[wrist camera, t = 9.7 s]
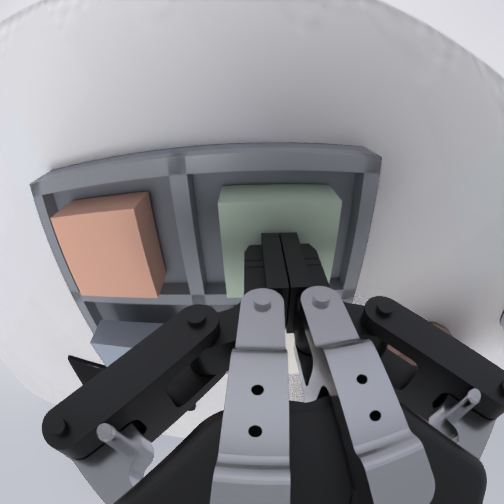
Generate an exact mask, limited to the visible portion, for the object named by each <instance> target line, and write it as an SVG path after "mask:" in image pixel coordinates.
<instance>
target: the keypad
mask: <svg viewBox="0 0 504 504" xmlns="http://www.w3.org/2000/svg"><path fill="white" fill-rule="evenodd" d="M381 160H382V157H380V156H378V155H377V154H375V153H373V152H372V151H370V150H368V149H367V148H365V147H361V146H349V145H335V144H317V143H235V144H216V145H202V146H190V147H180V148H171V149H162V150H154V151H147V152H140V153H133V154H127V155H121V156H115V157H110V158H105V159H100V160H95V161H90V162H85V163H81V164H76V165H72V166H68V167H64V168H60V169H56V170H52V171H50V172H48V173H46V174H45V175H43V176H42V177H40V178H38V179H37V180H35V181H34V182H32V183H31V184H30V187H31V191H32V195H33V198H34V201H35V205H36V208H37V211H38V214H39V217H40V220H41V223H42V226H43V229H44V232H45V234H46V237H47V240H48V242H49V245H50V247H51V250H52V252H53V255H54V257H55V260H56V262H57V264H58V267H59V269H60V271H61V273H62V275H63V278H64V280H65V282H66V284H67V286H68V288H69V290H70V292H71V294H72V296H73V298H74V300H75V302H76V304H77V306H78V308H79V310H80V311H81V313H82V315H83V317H84V319H85V320H86V322H87V324H88V326H89V327H90V329H91V331H92V332H93V334H94V333H95V331H96V329H97V326H98V324H99V322H100V320H113V321H127V322H144V323H165V322H167V321H168V320H169V319H171V318H172V317H173V316H175V315H176V314H177V313H178V312H180V311H181V310H182V309H184V308H186V307H188V306H191V305H195V304H203V305H208V306H210V307H212V308H214V309H215V310H216V311H217V312H221V311H224V310H228V309H231V308H232V307H234V306H236V305H237V304H238V303H239V302H240V301H241V300H242V298H227V292H226V283H225V274H224V264H223V254H222V244H221V234H220V223H219V212H218V200H219V196H220V192H221V188H222V186H232V185H268V184H318V185H330V186H331V187H332V189H333V190H334V191H335V193H336V194H337V195H338V197H339V198H340V199H341V201H342V207H341V214H340V222H339V229H338V235H337V242H336V248H335V254H334V260H333V266H332V271H331V277H330V282H329V286H330V288H331V289H333V290H334V291H336V292H337V293H338V294H339V295H340V297H341V299H342V301H344V302H347V303H351V304H352V301H353V298H354V294H355V290H356V287H357V283H358V279H359V275H360V271H361V268H362V263H363V259H364V255H365V251H366V246H367V242H368V237H369V232H370V227H371V222H372V217H373V212H374V206H375V201H376V195H377V188H378V182H379V175H380V168H381ZM147 191H148V192H149V197H150V203H151V208H152V213H153V218H154V223H155V227H156V232H157V236H158V241H159V245H160V250H161V254H162V258H163V262H164V266H165V270H166V277H165V280H164V283H163V285H162V288H161V291H160V294H159V297H158V298H131V297H104V296H84V295H81V293H80V291H79V288H78V286H77V284H76V282H75V280H74V278H73V275H72V273H71V271H70V269H69V266H68V264H67V261H66V259H65V257H64V254H63V252H62V249H61V247H60V244H59V241H58V239H57V236H56V233H55V230H54V227H53V224H52V222H51V219H50V218H51V217H52V216H53V215H55V214H56V213H57V212H58V211H59V210H60V209H61V208H63V207H64V206H65V205H66V204H67V203H69V202H70V201H76V200H82V199H89V198H96V197H103V196H111V195H119V194H128V193H137V192H147ZM226 373H229V371H226Z"/></svg>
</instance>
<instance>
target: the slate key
mask: <svg viewBox="0 0 504 504" xmlns="http://www.w3.org/2000/svg"><path fill="white" fill-rule="evenodd" d="M163 324H164V323H144V322H127V321H113V320H100V322H99V324H98V326H97V329H96V331H95V333H94V335H93V337H92V340H91V342H90V343H91V345H92V346H93V348H94V349H95V351H96V352H97V354H98V355H99V357H100V358H101V360H102V361H103V363H104V364H105V365H106V367H108V366H109V365H110V364H112V363H113V362H114V361H116V360H117V359H118V358H120V357H121V356H122V355H123V354H125V353H126V352H127V351H129V350H130V349H131V348H133V347H134V346H135V345H137V344H138V343H139V342H140V341H142V340H143V339H144V338H146V337H147V336H148V335H150V334H151V333H152V332H154V331H155V330H156V329H158V328H159V327H160V326H161V325H163Z"/></svg>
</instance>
